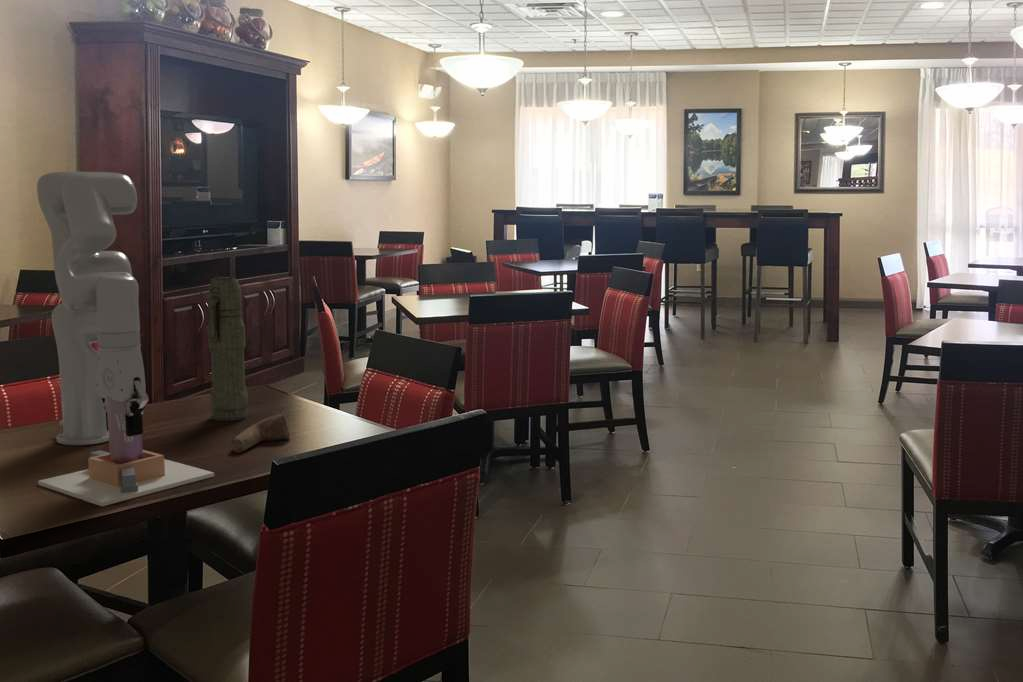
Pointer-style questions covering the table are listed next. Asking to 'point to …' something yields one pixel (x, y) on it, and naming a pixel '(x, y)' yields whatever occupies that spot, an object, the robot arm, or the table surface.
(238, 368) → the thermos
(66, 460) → the table surface
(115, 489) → the white board with box
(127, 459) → the beverage can
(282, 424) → the pipe
